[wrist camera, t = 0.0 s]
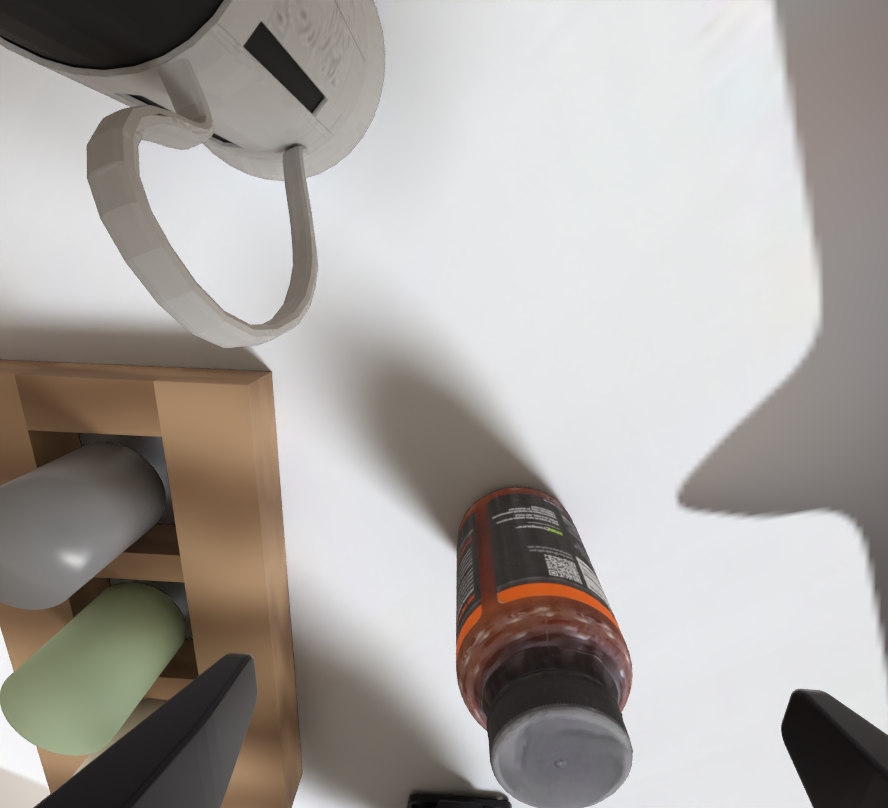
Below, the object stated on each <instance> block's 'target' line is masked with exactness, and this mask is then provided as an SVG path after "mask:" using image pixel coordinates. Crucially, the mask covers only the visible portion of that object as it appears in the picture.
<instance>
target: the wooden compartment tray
mask: <svg viewBox="0 0 888 808" xmlns="http://www.w3.org/2000/svg"><path fill="white" fill-rule="evenodd" d="M78 433H94V434H114V435H135V436H155V437H162V441H163V447H164V454H165V460H166V467H167V473H168V480H169V486H170V493H171V499H172V506H173V512H174V519H175V525H166V524H156V525H154V526H153V527H152V528H151V529H150V530H148V531H147V532H146V533H145V534H144V535H143V536H141V537H140V538H139V539H138V540H137V541H135V542H134V543H133V544H132V545H131V546H129V547H128V548H127V549H126V550H125V551H124V552H122V553H121V554H120V555H119V556H118V557H116V558H115V559H114V560H113V561H112V562H111V563H109V564H108V565H107V566H106V567H105V568H103V569H102V570H101V571H100V572H99V573H98V574H96V575H95V576H94V577H93V578H92V579H90V580H89V581H88V582H87V583H86V584H84V585H83V586H82V587H81V588H80V589H79V590H77V591H76V592H75V593H74V594H73V595H71V596H70V597H69V598H68V599H67V600H66V601H64V602H62V603H61V604H59V605H57V606H54V607H51V608H47V609H40V610H28V609H21V608H16V607H12V606H9V605H6V604H3V603H1V602H0V627H1V631H2V634H3V637H4V640H5V644H6V647H7V650H8V654H9V657H10V660H11V664H12V667H13V670H14V672H15V671H16V670H17V669H18V668H19V667H20V666H21V665H22V664H23V663H25V662H26V661H27V660H28V659H29V658H30V657H31V656H32V655H33V654H34V653H36V652H37V651H38V650H39V649H40V648H41V647H42V646H43V645H44V644H45V643H47V642H48V641H49V640H50V639H51V638H52V637H53V636H54V635H55V634H57V633H58V632H59V631H60V630H61V629H62V628H63V627H64V626H65V625H66V624H68V623H69V622H70V621H71V620H72V619H73V618H74V617H75V616H76V615H77V614H79V613H80V612H81V611H82V610H83V609H84V608H85V607H86V606H87V605H89V604H90V603H91V602H92V601H93V600H94V599H95V598H96V597H97V596H98V595H100V594H101V593H102V592H103V591H104V590H105V589H107V588H109V587H110V582H109V578H116V579H133V580H150V581H167V582H184V584H185V590H186V597H187V603H188V610H189V616H190V623H191V629H192V636H193V640H184V642H183V644H182V646H181V647H180V648H179V650H178V651H177V652H176V654H175V655H174V656H173V658H172V659H171V660H170V662H169V663H168V665H167V666H166V667H165V669H164V670H163V671H162V673H161V674H160V675H159V677H158V678H157V679H156V681H155V682H154V683H153V685H152V686H151V687H150V689H149V690H148V692H147V693H146V694H145V696H144V697H143V698H150V699H164V700H169V699H170V698H172V697H173V696H174V695H175V694H177V693H178V692H179V691H180V690H182V689H183V688H184V687H185V686H187V685H188V684H189V683H190V682H192V681H193V680H194V679H195V678H197V677H198V676H199V675H200V674H202V673H203V672H204V671H205V670H207V669H208V668H209V667H210V666H212V665H213V664H214V663H215V662H217V661H218V660H219V659H220V658H222V657H223V656H224V655H226V654H228V653H245V654H251V655H252V656H253V658H254V662H255V671H256V680H257V690H258V693H257V701H256V705H255V709H254V711H253V714H252V717H251V720H250V723H249V726H248V729H247V732H246V735H245V738H244V741H243V744H242V747H241V750H240V753H239V756H238V759H237V762H236V765H235V768H234V771H233V774H232V776H231V779H230V782H229V785H228V788H227V791H226V794H225V797H224V800H223V803H222V805H221V808H292V804H293V801H294V798H295V795H296V792H297V789H298V786H299V783H300V779H301V776H302V763H301V750H300V737H299V724H298V711H297V698H296V685H295V671H294V658H293V645H292V632H291V619H290V606H289V593H288V580H287V567H286V554H285V541H284V527H283V514H282V501H281V488H280V475H279V462H278V449H277V436H276V423H275V410H274V397H273V384H272V372H268V371H245V370H223V369H200V368H177V367H155V366H132V365H109V364H87V363H64V362H41V361H19V360H0V486H2V485H4V484H6V483H8V482H10V481H12V480H14V479H16V478H18V477H20V476H22V475H25V474H27V473H29V472H31V471H33V470H35V469H37V468H39V467H41V466H43V465H45V464H47V463H50V462H52V461H54V460H56V459H58V458H60V457H62V456H64V455H66V454H68V453H70V452H72V451H75V450H77V449H79V448H81V444H80V439H79V435H78ZM37 750H38V753H39V756H40V760H41V763H42V766H43V770H44V773H45V776H46V780H47V783H48V786H49V789H50V793H52V792H54V791H55V790H56V789H57V788H59V787H60V786H61V785H62V784H64V783H65V782H66V781H67V780H69V779H70V778H71V777H72V776H73V775H74V774H75V772H76V771H77V770H78V768H79V767H80V766H81V765H82V763H83V762H84V761H85V759H86V758H87V757H88V755H89V754H87V755H80V756H70V755H62V754H57V753H53V752H50V751H47V750H45V749H42V748H40V747H38V746H37Z"/></svg>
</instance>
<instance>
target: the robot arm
mask: <svg viewBox="0 0 888 808" xmlns="http://www.w3.org/2000/svg"><path fill="white" fill-rule="evenodd" d="M257 693H258V690H257V680H256V671H255V662H254V658H253V656H252V655H251V654H245V653H228V654H226V655H224V656H223V657H222V658H220V659H219V660H218V661H217V662H215V663H214V664H213V665H212V666H210V667H209V668H208V669H207V670H205V671H204V672H203V673H202V674H200V675H199V676H198V677H197V678H195V679H194V680H193V681H192V682H190V683H189V684H188V685H187V686H185V687H184V688H183V689H182V690H180V691H179V692H178V693H177V694H175V695H174V696H173V697H172V698H170V699H169V700H168V701H167V702H165V703H164V704H163V705H162V706H160V707H159V708H158V709H157V710H155V711H154V712H153V713H151V714H150V715H149V716H148V717H146V718H145V719H144V720H143V721H141V722H140V723H139V724H138V725H136V726H135V727H134V728H133V729H131V730H130V731H129V732H128V733H126V734H125V735H124V736H123V737H121V738H120V739H119V740H118V741H116V742H115V743H114V744H113V745H111V746H110V747H109V748H108V749H106V750H105V751H104V752H103V753H101V754H100V755H99V756H98V757H96V758H95V759H94V760H93V761H91V762H90V763H89V764H88V765H86V766H85V767H84V768H83V769H81V770H80V771H79V772H78V773H76V774H75V775H74V776H72V777H71V778H70V779H69V780H67V781H66V782H65V783H64V784H62V785H61V786H60V787H59V788H57V789H56V790H55V791H54V792H52V793H51V794H50V795H49V796H47V797H46V798H45V799H44V800H42V801H41V802H40V803H39V804H37V805H36V806H35V807H34V808H221V805H222V803H223V800H224V797H225V794H226V791H227V788H228V785H229V782H230V779H231V776H232V774H233V771H234V768H235V765H236V762H237V759H238V756H239V753H240V750H241V747H242V744H243V741H244V738H245V735H246V732H247V729H248V726H249V723H250V720H251V717H252V714H253V711H254V709H255V705H256V701H257ZM781 732H782V737H783V741H784V743H785V746H786V748H787V750H788V753H789V755H790V757H791V759H792V761H793V764H794V766H795V768H796V770H797V773H798V775H799V777H800V779H801V781H802V784H803V786H804V788H805V790H806V793H807V795H808V797H809V799H810V801H811V804H812V806H813V808H888V735H887V734H885V733H884V732H883V731H881V730H880V729H878V728H877V727H875V726H874V725H872V724H871V723H870V722H868V721H867V720H865V719H864V718H862V717H861V716H859V715H858V714H857V713H855V712H854V711H852V710H851V709H849V708H848V707H847V706H845V705H844V704H842V703H841V702H839V701H838V700H836V699H835V698H834V697H832V696H831V695H829V694H827V693H826V692H823V691H820V690H809V689H796V690H795V691H793V692H792V694H791V697H790V700H789V703H788V706H787V709H786V712H785V715H784V718H783V721H782V725H781ZM407 808H512V806H511V803H510V802H508V801H505V800H493V799H479V798H465V797H452V796H438V795H424V794H412V795H410V796H409V798H408V806H407Z"/></svg>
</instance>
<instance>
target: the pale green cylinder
mask: <svg viewBox="0 0 888 808" xmlns="http://www.w3.org/2000/svg"><path fill="white" fill-rule="evenodd" d="M185 637H186V622H185V619H184V616H183V614H182V612H181V610H180V609H179V607H178V606H177V605H176V604H175V603H174V601H173V600H172V599H170V598H169V597H168V596H167V595H165V594H164V593H163V592H161V591H159V590H157V589H155V588H153V587H151V586H148V585H144V584H140V583H120V584H116V585H113V586H110V587H109V588H107V589H105V590H104V591H103V592H102V593H101V594H100V595H98V596H97V597H96V598H95V599H94V600H93V601H92V602H91V603H90V604H89V605H87V606H86V607H85V608H84V609H83V610H82V611H81V612H80V613H79V614H77V615H76V616H75V617H74V618H73V619H72V620H71V621H70V622H69V623H68V624H66V625H65V626H64V627H63V628H62V629H61V630H60V631H59V632H58V633H57V634H55V635H54V636H53V637H52V638H51V639H50V640H49V641H48V642H47V643H45V644H44V645H43V646H42V647H41V648H40V649H39V650H38V651H37V652H36V653H34V654H33V655H32V656H31V657H30V658H29V659H28V660H27V661H26V662H25V663H23V664H22V665H21V666H20V667H19V668H18V669H17V670H16V671H15V672H14V673H12V674H11V675H10V676H9V677H8V678H7V679H6V680H5V682H4V684H3V685H2V688H1V691H0V705H1V709H2V711H3V714H4V716H5V717H6V719H7V721H8V722H9V724H10V725H11V726H12V727H13V728H14V729H15V731H16V732H18V733H19V734H20V735H21V736H22V737H23V738H25V739H26V740H28V741H29V742H31V743H32V744H34V745H36V746H38V747H40V748H42V749H45V750H47V751H50V752H53V753H57V754H62V755H70V756H80V755H87V754H92V753H95V752H97V751H99V750H101V749H103V748H104V747H105V746H107V745H108V744H109V743H110V741H111V740H112V739H113V737H114V736H115V735H116V733H117V732H118V731H119V729H120V728H121V727H122V725H123V724H124V723H125V721H126V720H127V718H128V717H129V716H130V714H131V713H132V712H133V710H134V709H135V708H136V706H137V705H138V704H139V702H140V701H141V700H142V698H143V697H144V696H145V694H146V693H147V692H148V690H149V689H150V687H151V686H152V685H153V683H154V682H155V681H156V679H157V678H158V677H159V675H160V674H161V673H162V671H163V670H164V669H165V667H166V666H167V665H168V663H169V662H170V660H171V659H172V658H173V656H174V655H175V654H176V652H177V651H178V650H179V648H180V647H181V646H182V644H183V642H184V640H185Z"/></svg>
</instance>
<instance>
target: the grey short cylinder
mask: <svg viewBox="0 0 888 808" xmlns="http://www.w3.org/2000/svg"><path fill="white" fill-rule="evenodd" d="M165 504H166V495H165V489H164V486H163V483H162V480H161V478H160V476H159V475H158V473H157V472H156V470H155V469H154V467H153V466H152V465H151V464H150V463H149V462H148V461H147V460H146V459H145V458H144V457H142V456H141V455H140V454H138V453H137V452H135V451H133V450H132V449H130V448H127V447H125V446H122V445H119V444H115V443H109V442H97V443H91V444H88V445H85V446H83V447H81V448H79V449H77V450H75V451H72V452H70V453H68V454H66V455H64V456H62V457H60V458H58V459H56V460H54V461H52V462H50V463H47V464H45V465H43V466H41V467H39V468H37V469H35V470H33V471H31V472H29V473H27V474H25V475H22V476H20V477H18V478H16V479H14V480H12V481H10V482H8V483H6V484H4V485H2V486H0V602H1V603H3V604H6V605H9V606H12V607H16V608H21V609H28V610H40V609H47V608H51V607H54V606H57V605H59V604H61V603H62V602H64V601H66V600H67V599H68V598H69V597H70V596H71V595H73V594H74V593H75V592H76V591H77V590H79V589H80V588H81V587H82V586H83V585H84V584H86V583H87V582H88V581H89V580H90V579H92V578H93V577H94V576H95V575H96V574H98V573H99V572H100V571H101V570H102V569H103V568H105V567H106V566H107V565H108V564H109V563H111V562H112V561H113V560H114V559H115V558H116V557H118V556H119V555H120V554H121V553H122V552H124V551H125V550H126V549H127V548H128V547H129V546H131V545H132V544H133V543H134V542H135V541H137V540H138V539H139V538H140V537H141V536H143V535H144V534H145V533H146V532H147V531H148V530H150V529H151V528H152V527H153V526H154V525H156V523H157V522H158V521H159V520H160V518H161V517H162V515H163V512H164V509H165Z"/></svg>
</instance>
